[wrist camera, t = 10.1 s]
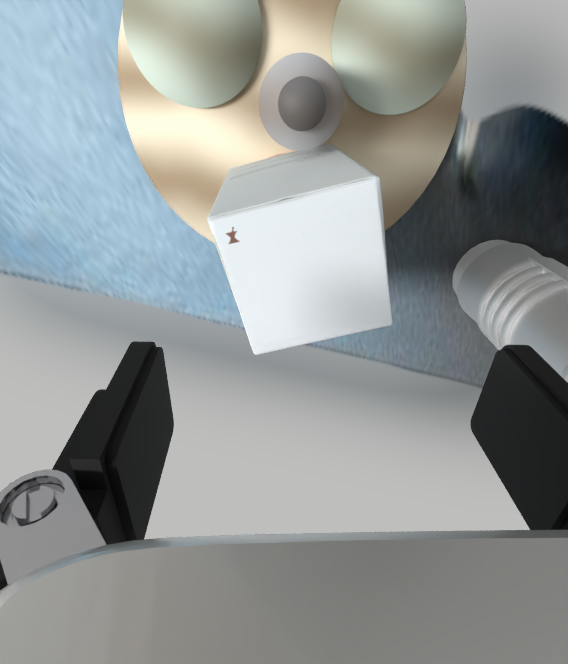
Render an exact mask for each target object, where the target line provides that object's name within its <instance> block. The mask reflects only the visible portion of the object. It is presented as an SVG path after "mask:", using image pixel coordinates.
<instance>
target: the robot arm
mask: <svg viewBox="0 0 568 664" xmlns="http://www.w3.org/2000/svg"><path fill="white" fill-rule="evenodd" d="M173 427H174V422H173V413H172V407H171V400H170V393H169V387H168V381H167V374H166V367H165V361H164V353H163V349H162V348H161V347H156V345H155V343H154V342H132V343H131V344H130V346H129V347H128V350H127V351H126V353H125V355H124V357H123V359H122V361H121V363H120V364H119V366H118V368H117V370H116V372H115V374H114V376H113V378H112V380H111V381H110V383H109V385H108V387H107V389H106V390H98V391H97V392H96V393H95V394H94V396H93V397H92V399H91V401H90V403H89V404H88V406H87V408H86V410H85V412H84V414H83V415H82V417H81V419H80V420H79V422H78V424H77V426H76V428H75V429H74V431H73V433H72V435H71V437H70V438H69V440H68V442H67V444H66V446H65V447H64V449H63V451H62V453H61V455H60V456H59V458H58V460H57V462H56V463H55V465H54V467H53V469H52V470H41V471H35V472H32V473H30V474H27V475H24V476H22V477H20V478H19V479H17V480H15V481H14V482H12V483H10V484H9V485H8V486H7V487H6V488H4V489H3V490H2V491H1V492H0V664H568V383H567V382H566V381H565V380H564V379H563V378H562V377H561V376H560V375H559V374H558V373H557V372H556V371H555V370H554V369H553V368H552V367H551V366H550V365H549V364H548V363H547V362H546V361H545V360H544V359H543V358H542V357H541V356H540V355H539V354H538V353H537V352H536V351H535V350H534V349H533V348H532V347H531V346H529V345H505V346H504V347H503V348H502V350H498V351H497V353H496V354H495V357H494V360H493V362H492V365H491V368H490V370H489V373H488V376H487V378H486V381H485V384H484V386H483V389H482V392H481V394H480V397H479V400H478V402H477V405H476V408H475V411H474V413H473V416H472V418H471V429H472V432H473V434H474V436H475V437H476V439H477V441H478V442H479V444H480V446H481V447H482V449H483V451H484V452H485V454H486V456H487V458H488V459H489V461H490V463H491V464H492V466H493V468H494V469H495V471H496V473H497V474H498V476H499V478H500V479H501V481H502V483H503V484H504V486H505V488H506V489H507V491H508V493H509V495H510V496H511V498H512V499H513V501H514V503H515V505H516V506H517V508H518V510H519V511H520V513H521V515H522V516H523V518H524V520H525V521H526V523H527V525H528V526H529V528H530V530H499V531H497V530H495V531H419V532H357V533H356V532H353V533H303V534H254V535H222V536H196V537H195V536H194V537H170V538H157V539H146V540H144V537H145V533H146V529H147V526H148V522H149V518H150V515H151V511H152V507H153V504H154V500H155V496H156V493H157V489H158V485H159V482H160V478H161V474H162V470H163V467H164V463H165V459H166V456H167V452H168V448H169V444H170V441H171V437H172V434H173Z"/></svg>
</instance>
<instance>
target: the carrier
mask: <svg viewBox="0 0 568 664" xmlns="http://www.w3.org/2000/svg"><path fill="white" fill-rule="evenodd" d="M465 33H466V7H465V1H464V0H123V11H122V18H121V25H120V32H119V40H118V77H119V87H120V97H121V102H122V106H123V111H124V116H125V121H126V124H127V127H128V130H129V133H130V136H131V139H132V143H133V146H134V148H135V150H136V152H137V154H138V157H139V159H140V161H141V163H142V165H143V168H144V169H145V171H146V173H147V174H148V176H149V178H150V179H151V181H152V183H153V184H154V186H155V188H156V189H157V190H158V192H159V193H160V194H161V196H162V197H163V198H164V199H165V201H166V202H167V203H168V205H169V206H170V207H171V208H172V209H173V210H174V211H175V212H176V213H177V214H178V215H179V216H180V217H181V218H182V219H183V220H184V221H185V222H186V223H187V224H188V225H190V226H191V227H192V228H193V229H194V230H196V231H197V232H198V233H199V234H201V235H202V236H204V237H205V238H207V239H209V240H210V241H212V242H213V243H215V241H214V238H213V235H212V232H211V230H210V227H209V224H208V221H207V218H208V216H209V213H210V211H211V209H212V206H213V204H214V202H215V200H216V198H217V196H218V193H219V191H220V189H221V186H222V184H223V182H224V180H225V178H226V175H227V173H228V171H229V169H230V168H233V167H237V166H241V165H244V164H248V163H252V162H256V161H260V160H263V159H267V158H271V157H275V156H279V155H282V154H286V153H290V152H294V151H305V150H310V149H313V148H316V147H318V146H320V145H323V144H327V143H330V144H332V145H333V146H335V147H336V148H337V149H339V150H341V151H342V152H343V153H345V154H346V155H348V156H349V157H351V158H352V159H354V160H355V161H356V162H358V163H359V164H361V165H362V166H364V167H365V168H367V169H368V170H370V171H371V172H373V173H374V174H376V175H378V176H379V177H380V180H381V192H382V205H383V218H384V230H385V231H386V230H387V229H388V228H390V227H391V226H392V225H393V224H394V223H395V222H396V221H398V220H399V219H400V218H401V217H402V216H403V215H404V214H405V213H406V212H407V211H408V210H409V209H410V208H411V206H412V205H413V204H414V203H415V202H416V201H417V199H418V198H419V197H420V196H421V195H422V193H423V192H424V190H425V189H426V187H427V186H428V184H429V183H430V181H431V180H432V178H433V177H434V175H435V173H436V172H437V170H438V168H439V166H440V164H441V162H442V160H443V158H444V156H445V154H446V152H447V149H448V147H449V144H450V142H451V139H452V137H453V134H454V131H455V128H456V124H457V121H458V117H459V114H460V110H461V105H462V98H463V93H464V87H465V78H466V61H467V50H466V34H465Z"/></svg>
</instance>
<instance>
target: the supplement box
mask: <svg viewBox="0 0 568 664" xmlns="http://www.w3.org/2000/svg"><path fill="white" fill-rule="evenodd" d="M207 221H208V224H209V227H210V230H211V232H212V235H213V238H214V241H215V244H216V247H217V249H218V252H219V255H220V258H221V261H222V264H223V266H224V269H225V272H226V275H227V278H228V281H229V283H230V286H231V289H232V292H233V295H234V297H235V300H236V303H237V306H238V309H239V312H240V315H241V317H242V320H243V323H244V326H245V330H246V333H247V335H248V339H249V341H250V344H251V348H252V350H253V353H254V354H255V355H258V354H262V353H266V352H271V351H276V350H280V349H284V348H289V347H293V346H298V345H303V344H307V343H312V342H316V341H321V340H325V339H330V338H334V337H339V336H343V335H348V334H352V333H357V332H362V331H367V330H371V329H376V328H380V327H385V326H390V325H392V324H393V323H392V315H391V306H390V295H389V284H388V270H387V257H386V244H385V230H384V218H383V205H382V192H381V180H380V177H379V176H378V175H376V174H374V173H373V172H371V171H370V170H368V169H367V168H365V167H364V166H362V165H361V164H359V163H358V162H356V161H355V160H354V159H352V158H351V157H349V156H348V155H346V154H345V153H343V152H342V151H341V150H339V149H337V148H336V147H335V146H333V145H332V144H330V143H327V144H323V145H320V146H318V147H316V148H313V149H310V150H305V151H294V152H290V153H286V154H282V155H279V156H275V157H271V158H267V159H263V160H260V161H256V162H252V163H248V164H244V165H241V166H237V167H233V168H230V169H229V171H228V173H227V175H226V178H225V180H224V182H223V184H222V186H221V189H220V191H219V193H218V196H217V198H216V200H215V202H214V204H213V206H212V209H211V211H210V213H209V216H208V218H207Z"/></svg>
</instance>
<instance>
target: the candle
mask: <svg viewBox="0 0 568 664" xmlns="http://www.w3.org/2000/svg"><path fill="white" fill-rule="evenodd" d="M452 283H453V289H454V291H455V293H456V295H457V296H458V301H459V304H460V306H461V308H462V309H463V310H464V311H465V312H466V313H467V314H468V315H469V316H470V317H471V318H472V319H474V320H475V321H476V322H477V324H478V326H479V328H480V330H481V331H482V333H483V334H484V335H485V336H487V337H488V339H489V340H490V341H491V342H492V343H493V344H494V345H495V346H496V348H497V349H498V350H502V348H503V347H504V346H505V345H529V346H531V347H532V348H533V349H534V350H535V351H536V352H537V353H538V354H539V355H540V356H541V357H542V358H543V359H544V360H545V361H546V362H547V363H548V364H549V365H550V366H551V367H552V368H553V369H554V370H555V371H556V372H557V373H558V374H559V375H560V376H561V377H562V378H563V379H564V380H565V381H566V382H567V383H568V267H567V266H565V265H563V264H561V263H560V262H558V261H556V260H554V259H553V258H548V257H543V256H542V255H540V254H539V253H538V252H537V251H535V250H534V249H532V248H530V247H529V246H527V245H524V244H519V243H510V242H508V241H504V240H489V241H486V242H483V243H480V244H478V245H477V246H475V247H473V248H471V249H470V250H469V251H468V252H467V253H466V254H465V255H463V257H462V258H461V259H460V261H459V262H458V264H457V265H456V268H455V270H454V273H453V279H452Z"/></svg>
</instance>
